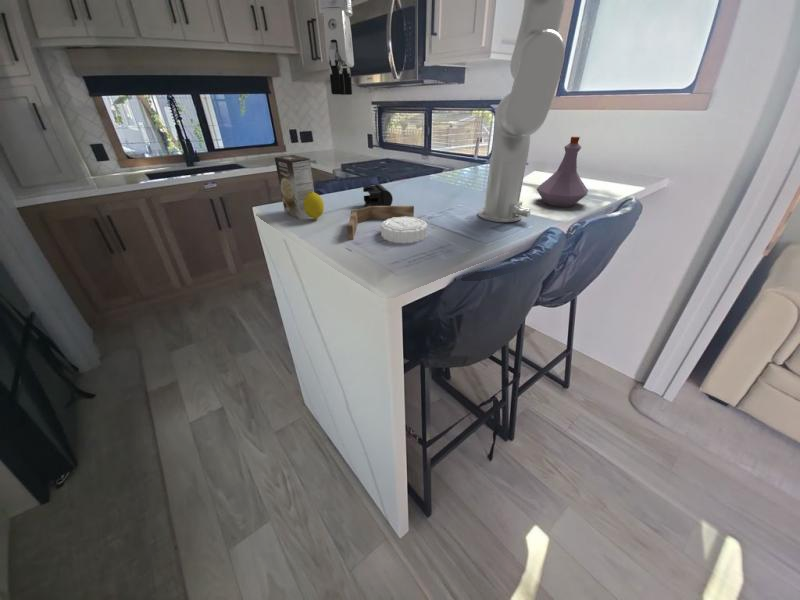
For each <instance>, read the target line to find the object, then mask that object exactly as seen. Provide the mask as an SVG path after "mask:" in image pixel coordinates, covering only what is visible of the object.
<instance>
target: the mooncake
mask: <svg viewBox="0 0 800 600" xmlns="http://www.w3.org/2000/svg"><path fill="white" fill-rule="evenodd" d="M428 227H429V226H428V224H427V222H426V221H425V220H423V219H421V218H417V217H415V216H414V217H407V216H405V217H393V218H390V219H385V220H384V221H382V222H381V224H380V235H381V238H383V240H385V241H388V242H392V243H395V244H413V243H419V242H420V241H424V239H427V236H428Z"/></svg>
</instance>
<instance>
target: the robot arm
mask: <svg viewBox="0 0 800 600" xmlns="http://www.w3.org/2000/svg"><path fill="white" fill-rule="evenodd" d="M317 2H318V10H319V15H320V16H322V17H323V24H324V41H325V51H326V58H327V62H328V64H329V81H330V91H331V95H345V96H346V95H351V96H352V95H353V87H352V86H353V85H352V76H351V75H352V73H351V68H353V67H354V66H355V60H354V51H353V50H354V48H353V37H352V29H351V28H352V27H351V22H350V21H351V20H350V17H352V16H353V15H354V14H353V2H352V0H317ZM565 3H566V0H524V1H523V11H522V15H521V21H520V25H519V29H518V32H517V37H516V40H515V41H516V42H515V45H514V48H513V52H512V55H511V59H510V65H509V66H510V74H511V76H512V78H513V83H512V86H511V87H512V88H511V91H510V93H508V94H506V95H505V96H504V97H503V98H502V99H501V100H500V102H499V103H498V105H497V107H496V110H495V114H494V121H493V137H492V139H493V140H492V146H491V157H490V162H489V163H490V164H489V170H488V177H487V185H486V192H485V193H486V194H485V200H484V206H483V207H481V208H480V209H479V210H478V212H477V213H478V214H477V215H478V216H479V218H480V219H483V220H486V221H489V222H490V221H491V222H495V223H515V222H517V221H520V220H521V219H522V217H524V218H529V217H531V209H530V208H527V207H524V206H522V205H523V202H522V201H520V198H521V195H522V194H521V193H522V188H523V183H524V176H525V173H526V166H527V163H528V162H527V161H528V156H529V151H530V144H531V135H533V134H534V133H537V131H539V129H540V128H541V127H542V125H543V124H544V122H545V121H546V118H547V117H548V114H549V111H550V108H551V105H552V102H553V99H554V96H555V93H556V90H557V86H558V82H559V79H560V77H561V73H562V70H563V66H564V61H565V56H566V54H565V53H566V50H565V49H566V48H565V42H564V40H563V38H562V36H561V34H560V33H559V28H560V24H561V21H562V16H563V12H564V9H565Z"/></svg>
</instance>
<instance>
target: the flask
mask: <svg viewBox="0 0 800 600" xmlns="http://www.w3.org/2000/svg"><path fill="white" fill-rule="evenodd" d="M580 138H581V137H580V136H570V142H569V143H568V144H566V145H565V146H564V152H565V153H564V155H563V159H562V160H561V162H560V164H559V165H558V169H557V170H556V171H555V172H554V173H553V174H552V175H551V176H549V177H548V178H547V179H546V180H545V181H543V182H542V183H541V184H539V186H538V187H536V191H537V193H538V194H539V196H540V198H541V199H542V201H543V202H544V203H545V204H547V205H549V206H551V207H552V206H553V207H554V206H555V207H561V208H563V207H564V208H566V207H567V208H568V207H573V206H574V205H576V204H577V203H578V202H580V201H581V200H582V199H584V198H586V196H587V195H588V192H589V189H588V188H587V187H586V184H584V182H583V180H582V178H581V176H580V175H579V173H578V171H577V168H578V166H577V165H578V164H577V159H578V155H579V152H580V150H581V149H582V146H581V145H580V144H579V141H580Z"/></svg>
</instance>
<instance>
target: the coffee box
mask: <svg viewBox="0 0 800 600" xmlns="http://www.w3.org/2000/svg"><path fill="white" fill-rule="evenodd" d="M274 162H275V166H276V172H277V179H278V183H279V189H280V194H281V198H282V203H283V204H282V205H283V210H284V213H285V214H287V215H290V216H292V217H294V218H297V219H299V220H301V219H305V218H309V217H310V216H308V215H307V214H306V212H305V209H304V198H305V196H306V195H307V194H309V193H310V192H314V193H315V188H314V180H313V179H314V178H313V172H312V166H311V159H310V157H309V158H308V157H305V156H300V155H296V154H289V155H282V156H281V155H280V156H276V157H274ZM310 218H311V217H310Z"/></svg>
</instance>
